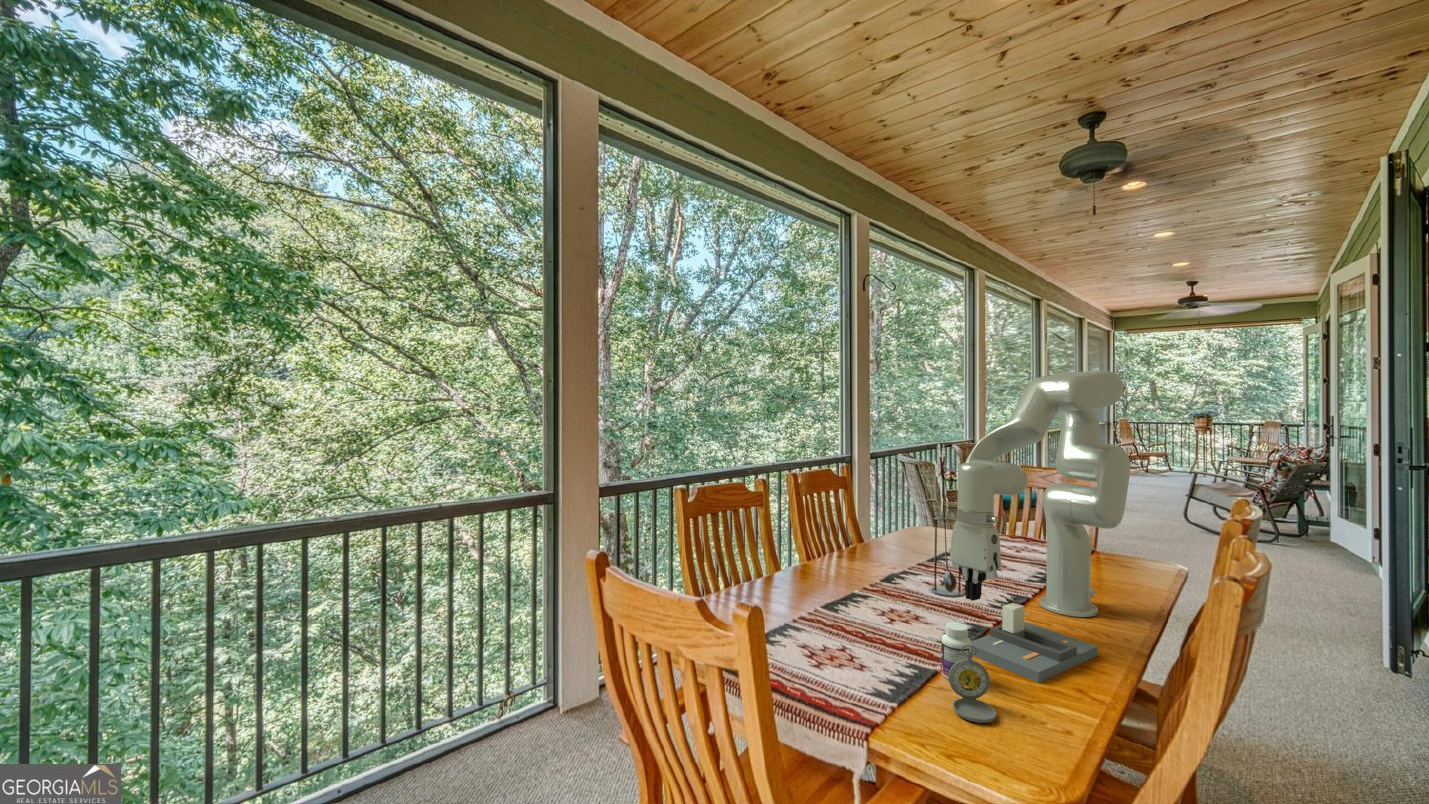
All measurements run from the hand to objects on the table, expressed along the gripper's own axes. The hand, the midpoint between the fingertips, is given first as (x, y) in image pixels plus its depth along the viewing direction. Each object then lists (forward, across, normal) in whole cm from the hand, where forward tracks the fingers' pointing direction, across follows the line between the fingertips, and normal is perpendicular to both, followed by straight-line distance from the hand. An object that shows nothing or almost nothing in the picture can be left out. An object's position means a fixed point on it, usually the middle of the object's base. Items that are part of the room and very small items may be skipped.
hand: (973, 598), depth 130 cm
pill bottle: (+8, -11, +21) cm, 25 cm away
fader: (+6, -9, -1) cm, 11 cm away
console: (+8, -13, -1) cm, 15 cm away
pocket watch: (+9, -20, +29) cm, 37 cm away
